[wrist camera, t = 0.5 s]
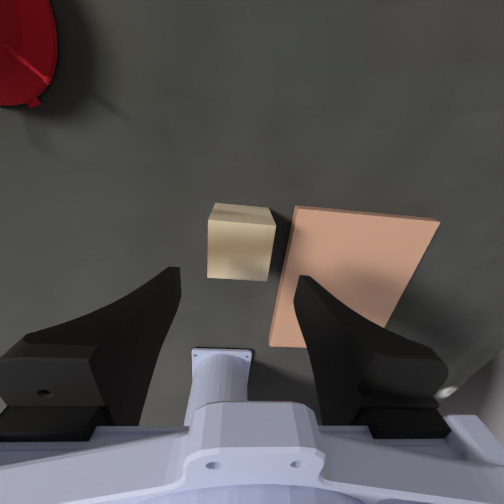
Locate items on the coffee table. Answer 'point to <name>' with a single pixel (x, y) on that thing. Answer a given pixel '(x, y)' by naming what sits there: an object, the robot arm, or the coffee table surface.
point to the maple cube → (240, 242)
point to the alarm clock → (26, 50)
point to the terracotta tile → (349, 263)
